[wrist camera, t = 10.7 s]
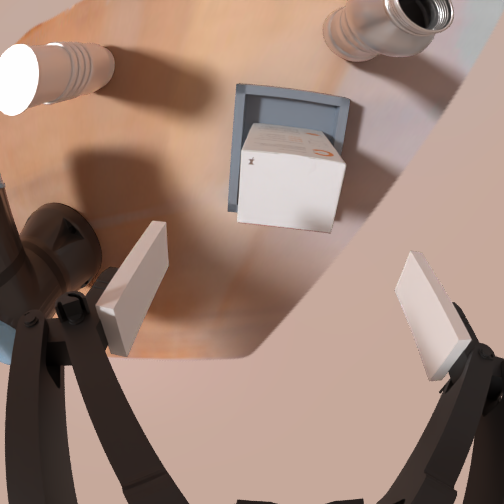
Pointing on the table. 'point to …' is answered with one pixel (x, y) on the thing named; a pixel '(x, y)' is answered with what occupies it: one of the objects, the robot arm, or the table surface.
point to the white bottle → (51, 73)
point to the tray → (283, 119)
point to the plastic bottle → (385, 27)
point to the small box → (289, 178)
